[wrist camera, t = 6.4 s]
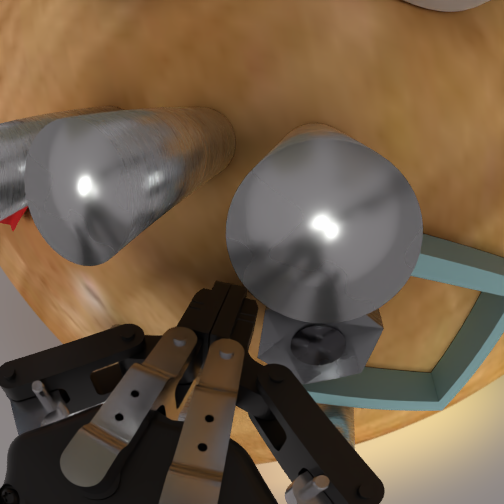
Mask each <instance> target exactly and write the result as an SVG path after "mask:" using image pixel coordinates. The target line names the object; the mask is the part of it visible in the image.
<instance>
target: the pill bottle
mask: <svg viewBox="0 0 504 504" xmlns="http://www.w3.org/2000/svg"><path fill="white" fill-rule="evenodd" d="M403 1H406V2H408V3H411V4H414V5H417V6H420V7H423V8H427V9H431V10H436V11H444V12H456V11H463V10H467V9H471V8H474V7H477V6H479V5H481V4H483V3H486V2H488V1H490V0H403Z"/></svg>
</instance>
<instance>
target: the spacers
mask: <svg viewBox="0 0 504 504" xmlns="http://www.w3.org/2000/svg"><path fill="white" fill-rule="evenodd" d="M235 146H236V139H235V133H234V130H233V128H232V126H231V124H230V122H229V121H228V120H227V119H226V117H225V116H223V115H222V114H221V113H219V112H218V111H216V110H214V109H211V108H206V107H169V108H147V109H132V110H122V109H120V108H118V107H115V106H103V107H93V108H84V109H76V110H68V111H61V112H55V113H49V114H43V115H38V116H32V117H28V118H23V119H18V120H14V121H10V122H5V123H1V124H0V221H1V220H3V219H5V218H6V217H8V216H10V215H12V214H14V213H15V212H17V211H19V210H21V209H23V208H25V207H27V206H28V207H29V210H30V213H31V216H32V218H33V220H34V223H35V225H36V227H37V228H38V230H39V232H40V233H41V235H42V236H43V238H44V239H45V240H46V242H47V243H48V244H49V245H50V246H51V247H52V248H53V249H54V250H55V251H56V252H57V253H58V254H59V255H61V256H62V257H64V258H65V259H67V260H69V261H71V262H73V263H76V264H79V265H83V266H95V265H99V264H102V263H104V262H106V261H108V260H109V259H110V258H112V257H113V256H114V255H115V254H116V253H118V252H119V251H120V250H121V249H122V248H123V247H125V246H126V245H127V244H128V243H129V242H130V241H132V240H133V239H134V238H135V237H136V236H138V235H139V234H140V233H141V232H143V231H144V230H145V229H146V228H147V227H149V226H150V225H151V224H152V223H154V222H155V221H156V220H157V219H159V218H160V217H161V216H162V215H164V214H165V213H166V212H167V211H169V210H170V209H171V208H173V207H174V206H175V205H176V204H178V203H179V202H180V201H182V200H183V199H184V198H186V197H187V196H188V195H190V194H191V193H192V192H194V191H195V190H196V189H198V188H199V187H200V186H202V185H203V184H204V183H206V182H207V181H209V180H210V179H211V178H213V177H214V176H216V175H217V174H218V173H220V172H221V171H222V170H224V169H225V168H226V167H227V166H228V164H229V163H230V161H231V160H232V157H233V155H234V152H235ZM422 239H423V224H422V215H421V211H420V207H419V203H418V201H417V198H416V196H415V193H414V191H413V190H412V188H411V186H410V184H409V183H408V181H407V180H406V178H405V177H404V176H403V175H402V173H401V172H400V171H399V170H398V169H397V168H396V167H395V166H394V165H393V164H392V163H391V162H389V161H388V160H387V159H385V158H384V157H382V156H381V155H380V154H378V153H377V152H375V151H373V150H372V149H370V148H368V147H367V146H365V145H363V144H362V143H360V142H358V141H356V140H355V139H353V138H351V137H349V136H348V135H346V134H344V133H342V132H340V131H339V130H337V129H335V128H333V127H331V126H328V125H325V124H320V123H309V124H304V125H301V126H299V127H297V128H295V129H293V130H292V131H291V132H289V133H288V134H287V135H286V136H285V137H284V138H283V139H282V140H281V141H280V142H279V143H278V144H277V145H276V146H275V147H274V148H273V149H272V150H271V151H270V152H269V153H268V154H267V155H266V156H265V157H264V158H263V159H262V160H261V161H260V162H259V163H258V164H257V165H256V166H255V167H254V168H253V169H252V171H251V172H250V173H249V174H248V175H247V176H246V177H245V179H244V180H243V181H242V183H241V184H240V186H239V187H238V189H237V191H236V193H235V195H234V197H233V199H232V202H231V205H230V208H229V211H228V217H227V222H226V241H227V249H228V253H229V257H230V260H231V262H232V265H233V267H234V270H235V272H236V273H237V275H238V277H239V279H240V280H241V282H242V283H243V284H244V286H245V287H246V288H247V289H248V290H249V292H250V293H251V294H252V295H253V296H254V297H255V298H257V299H258V300H259V301H260V302H261V303H263V304H264V305H266V306H267V307H269V308H270V309H272V310H274V311H276V312H278V313H280V314H282V315H284V316H287V317H289V318H292V319H296V320H300V321H304V322H311V323H338V322H343V321H349V320H352V319H355V318H359V317H361V316H364V315H366V314H368V313H371V312H372V311H374V310H376V309H378V308H379V307H381V306H382V305H384V304H385V303H386V302H388V301H389V300H390V299H391V298H392V297H394V296H395V295H396V294H397V293H398V292H399V291H400V289H401V288H402V287H403V286H404V285H405V283H406V282H407V280H408V279H409V277H410V276H411V274H412V272H413V270H414V268H415V266H416V264H417V261H418V258H419V255H420V251H421V246H422ZM117 326H120V325H114V326H112V327H111V328H114V327H117ZM111 328H110V329H111ZM117 363H118V362H117ZM117 363H114V364H112V365H115V364H117ZM112 365H109V366H112ZM109 366H106V367H103V368H101V369H104V368H107V367H109ZM101 369H98V370H101ZM98 370H95V371H93V372H96V371H98ZM202 371H203V369H200V371H199V373H198V376H197V381H196V384H195V386H196V385H198V384H199V381H200V377H201V374H202ZM195 386H194V387H193V389H192V391H191V393H190V395H189V397H188V399H187V401H186V403H185V405H184V406H183V408H182V410H181V412H180V414H179V418H178V421H185V418H186V415H187V411H188V408H189V405H190V401H191V398H192V395H193V391H194V388H195ZM103 403H104V402H103ZM103 403H100V404H103ZM317 404H318V406H319V407H320V408H321V409H322V411H323V412H324V413H325V414H326V416H327V417H328V418H329V419H330V421H331V422H332V423H333V424H334V425H335V427H336V428H337V429H338V430H339V432H340V433H341V434H342V435H343V436H344V438H345V439H346V440H347V441H348V443H349V444H350V445H351V446H352V447H353V449H354V450H355V437H354V407H346V406H337V405H329V404H321V403H317ZM97 405H99V404H97ZM97 405H95V406H97ZM92 407H94V406H92ZM92 407H89V408H92ZM89 408H87V409H89ZM87 409H84V410H87ZM84 410H81V411H78V412H75V413H72V414H70V415H69V416H72V415H74V414H77V413H79V412H82V411H84Z"/></svg>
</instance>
